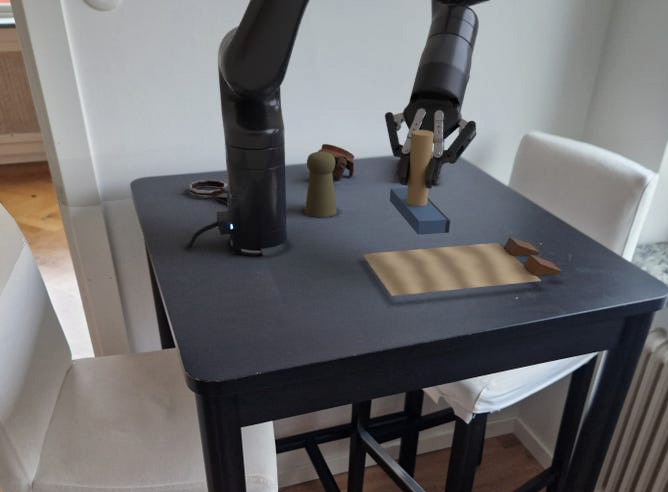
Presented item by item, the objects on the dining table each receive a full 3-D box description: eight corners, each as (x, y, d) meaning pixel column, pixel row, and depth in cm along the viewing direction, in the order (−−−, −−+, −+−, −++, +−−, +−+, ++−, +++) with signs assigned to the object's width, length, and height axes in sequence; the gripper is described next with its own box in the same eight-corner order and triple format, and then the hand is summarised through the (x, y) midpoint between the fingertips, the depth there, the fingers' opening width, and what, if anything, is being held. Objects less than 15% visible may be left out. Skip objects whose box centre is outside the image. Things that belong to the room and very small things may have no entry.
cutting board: (391, 305, 97) (391, 295, 97) (361, 262, 110) (361, 254, 109) (539, 289, 103) (541, 280, 103) (496, 250, 115) (497, 242, 115)
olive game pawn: (332, 218, 126) (333, 159, 120) (301, 215, 127) (300, 156, 121) (339, 207, 131) (340, 150, 125) (309, 204, 132) (309, 147, 126)
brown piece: (299, 177, 147) (312, 141, 146) (336, 193, 151) (349, 158, 150) (320, 179, 136) (334, 140, 136) (359, 196, 141) (372, 158, 140)
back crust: (512, 255, 110) (518, 244, 109) (503, 247, 113) (509, 236, 112) (534, 262, 112) (539, 251, 111) (524, 254, 115) (530, 243, 114)
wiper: (417, 234, 93) (425, 146, 87) (389, 200, 105) (394, 120, 98) (449, 232, 94) (459, 145, 88) (417, 199, 106) (424, 120, 99)
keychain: (252, 215, 126) (252, 205, 124) (180, 193, 135) (179, 183, 133) (279, 204, 131) (279, 194, 130) (208, 184, 140) (208, 174, 139)
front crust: (533, 274, 104) (540, 263, 103) (523, 265, 107) (530, 254, 106) (555, 282, 106) (562, 271, 105) (545, 273, 108) (551, 262, 108)
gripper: (391, 55, 96) (362, 164, 93) (490, 63, 93) (464, 177, 90) (398, 88, 103) (372, 190, 100) (490, 97, 100) (466, 203, 97)
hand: (415, 183), depth 95 cm, fingers closed on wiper, 3 cm apart
